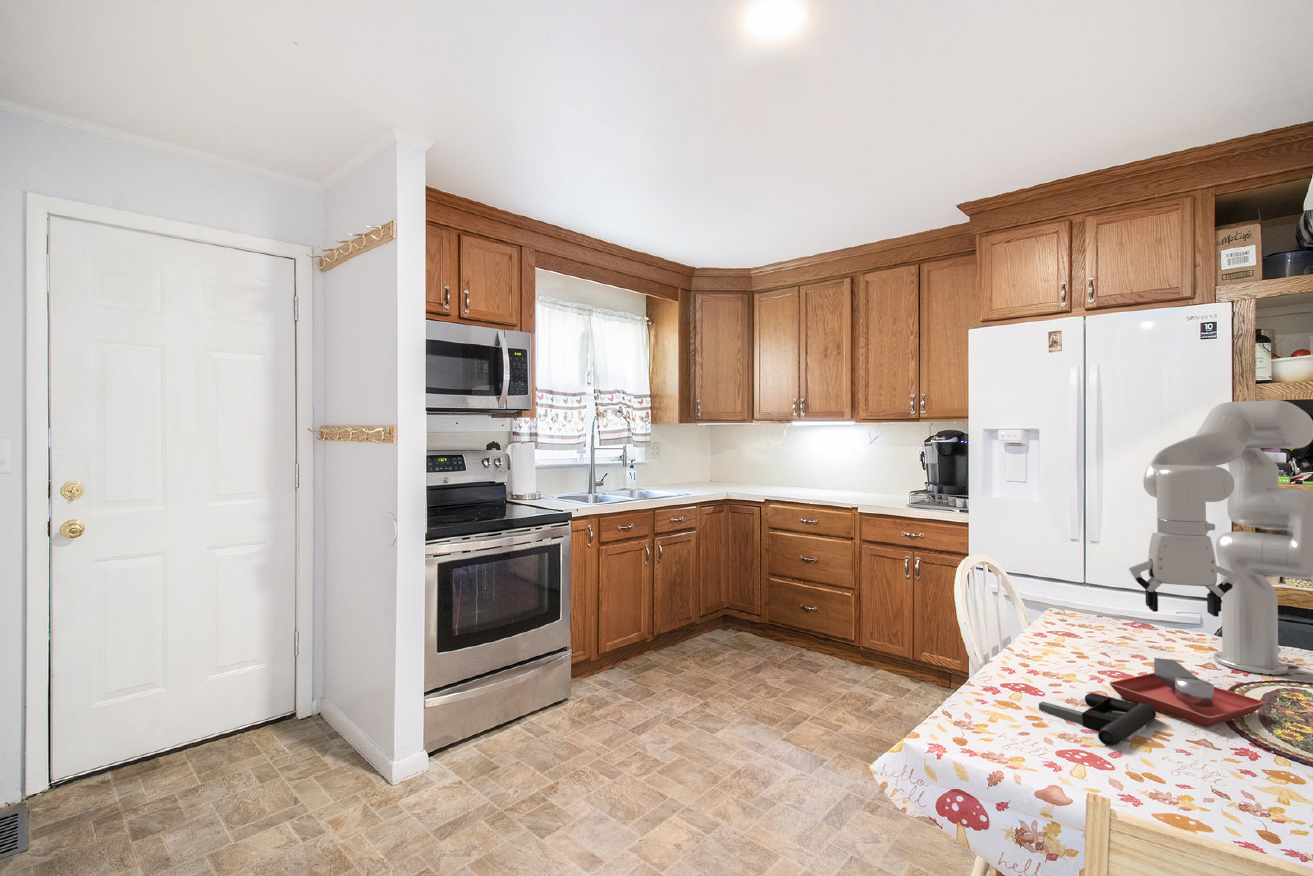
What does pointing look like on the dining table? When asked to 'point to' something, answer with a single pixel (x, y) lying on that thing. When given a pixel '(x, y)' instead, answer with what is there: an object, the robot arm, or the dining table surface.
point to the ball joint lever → (1184, 683)
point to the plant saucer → (1164, 700)
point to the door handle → (1107, 717)
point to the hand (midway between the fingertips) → (1182, 612)
